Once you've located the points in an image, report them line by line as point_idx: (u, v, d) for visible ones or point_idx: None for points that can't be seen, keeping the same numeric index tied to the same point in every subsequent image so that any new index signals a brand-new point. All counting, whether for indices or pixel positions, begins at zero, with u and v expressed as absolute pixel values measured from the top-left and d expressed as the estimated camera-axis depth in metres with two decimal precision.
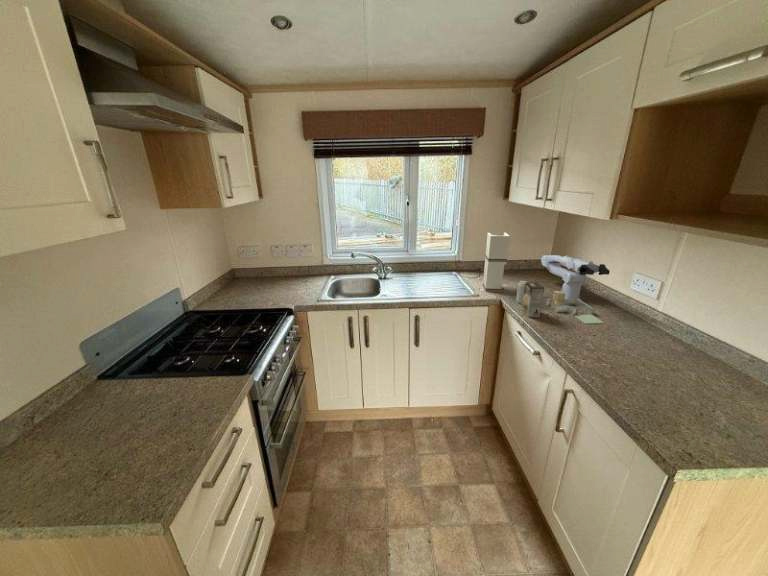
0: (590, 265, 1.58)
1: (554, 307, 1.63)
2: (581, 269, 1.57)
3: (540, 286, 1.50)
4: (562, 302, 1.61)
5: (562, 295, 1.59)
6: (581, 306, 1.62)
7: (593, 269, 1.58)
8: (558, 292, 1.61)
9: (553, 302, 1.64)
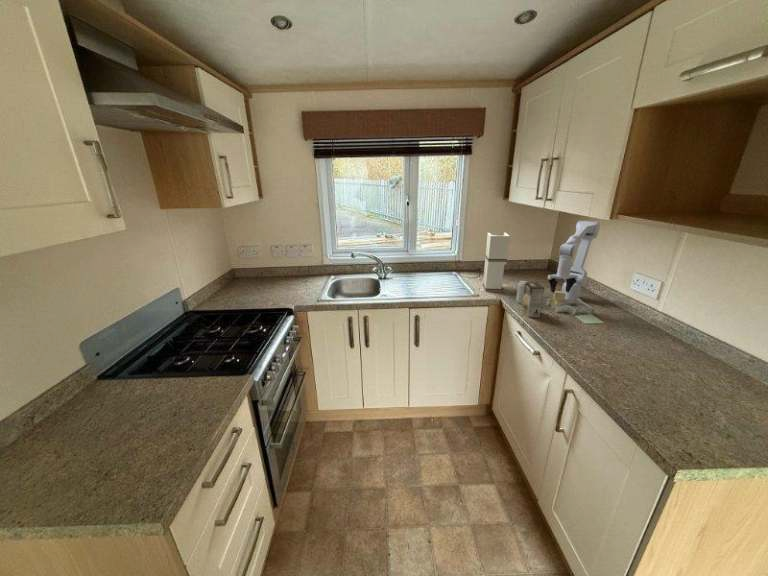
0: None
1: (554, 307, 1.63)
2: (551, 280, 1.58)
3: (540, 286, 1.50)
4: (562, 302, 1.61)
5: (562, 295, 1.59)
6: (581, 306, 1.62)
7: (564, 278, 1.58)
8: (558, 292, 1.61)
9: (553, 302, 1.64)
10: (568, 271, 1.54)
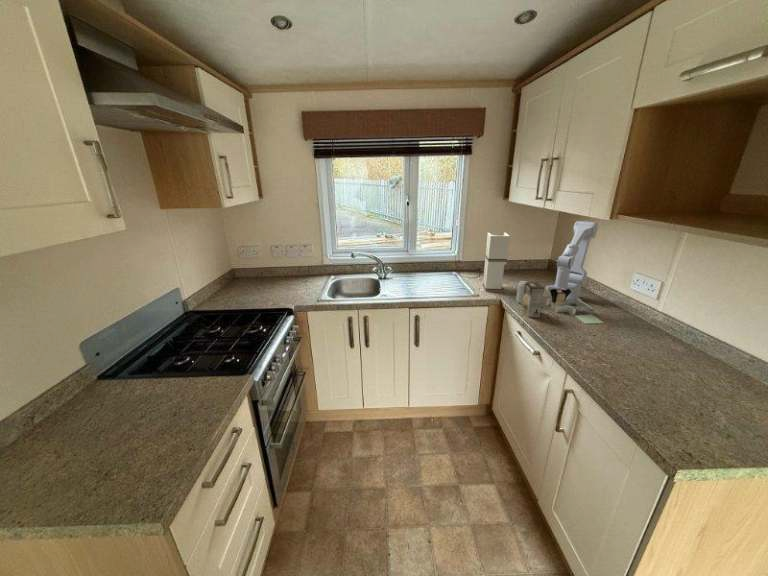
0: None
1: (554, 307, 1.63)
2: None
3: (540, 286, 1.50)
4: (562, 302, 1.61)
5: (562, 295, 1.59)
6: (581, 306, 1.62)
7: (562, 289, 1.60)
8: None
9: None
10: (566, 282, 1.56)
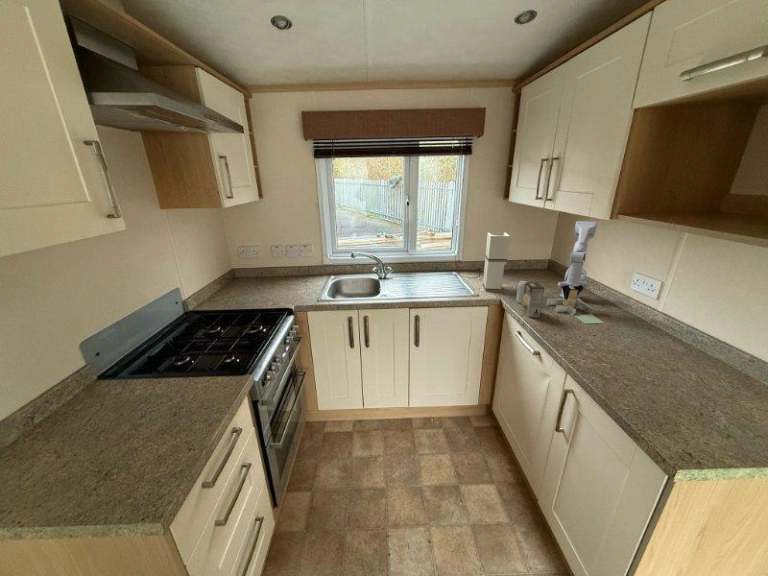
0: None
1: (566, 304, 1.62)
2: None
3: (540, 286, 1.50)
4: (574, 298, 1.60)
5: (574, 291, 1.59)
6: (581, 306, 1.62)
7: (574, 285, 1.60)
8: None
9: (565, 299, 1.63)
10: (578, 278, 1.55)
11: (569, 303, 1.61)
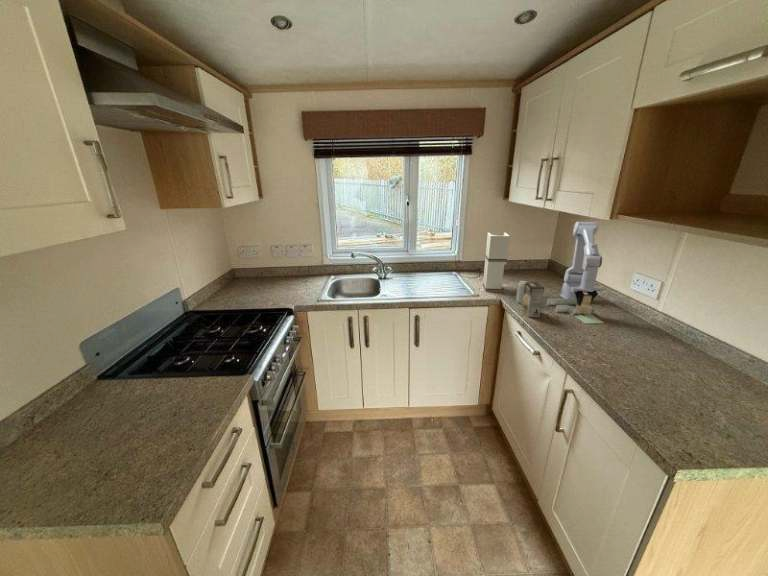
0: None
1: (579, 310, 1.54)
2: None
3: (540, 286, 1.50)
4: (588, 305, 1.52)
5: (588, 297, 1.51)
6: None
7: (588, 291, 1.52)
8: None
9: None
10: (593, 283, 1.48)
11: (582, 309, 1.53)
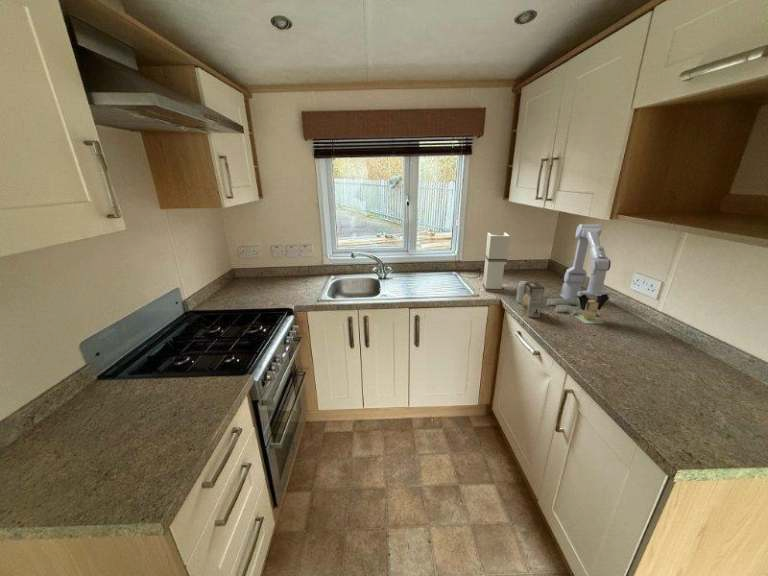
0: None
1: (585, 317, 1.49)
2: None
3: (540, 286, 1.50)
4: (594, 312, 1.47)
5: (595, 304, 1.46)
6: None
7: (595, 295, 1.46)
8: (590, 301, 1.48)
9: (584, 312, 1.50)
10: (600, 287, 1.42)
11: (589, 317, 1.48)
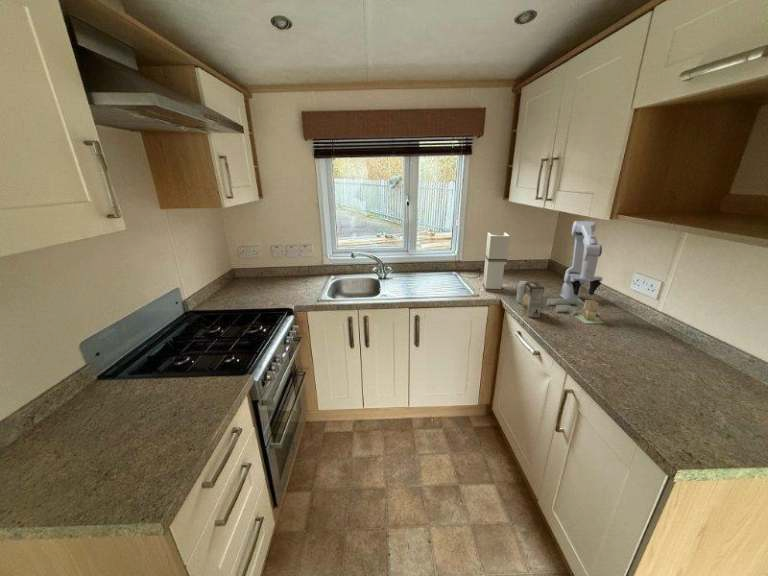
0: None
1: (585, 317, 1.49)
2: (574, 282, 1.52)
3: (540, 286, 1.50)
4: (594, 312, 1.47)
5: (595, 304, 1.46)
6: (581, 306, 1.62)
7: None
8: (590, 301, 1.48)
9: (584, 312, 1.50)
10: (593, 273, 1.47)
11: (589, 317, 1.48)
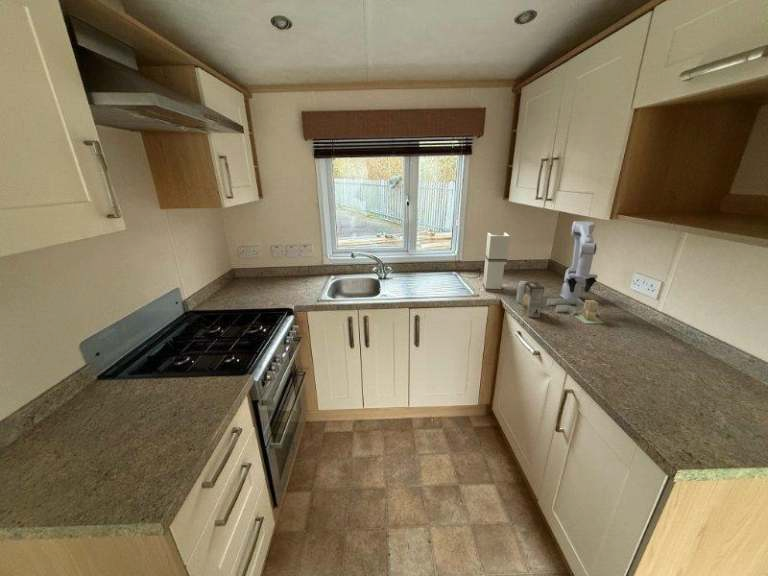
0: None
1: (585, 317, 1.49)
2: (570, 280, 1.55)
3: (540, 286, 1.50)
4: (594, 312, 1.47)
5: (595, 304, 1.46)
6: (581, 306, 1.62)
7: (583, 278, 1.55)
8: (590, 301, 1.48)
9: (584, 312, 1.50)
10: (588, 270, 1.51)
11: (589, 317, 1.48)
